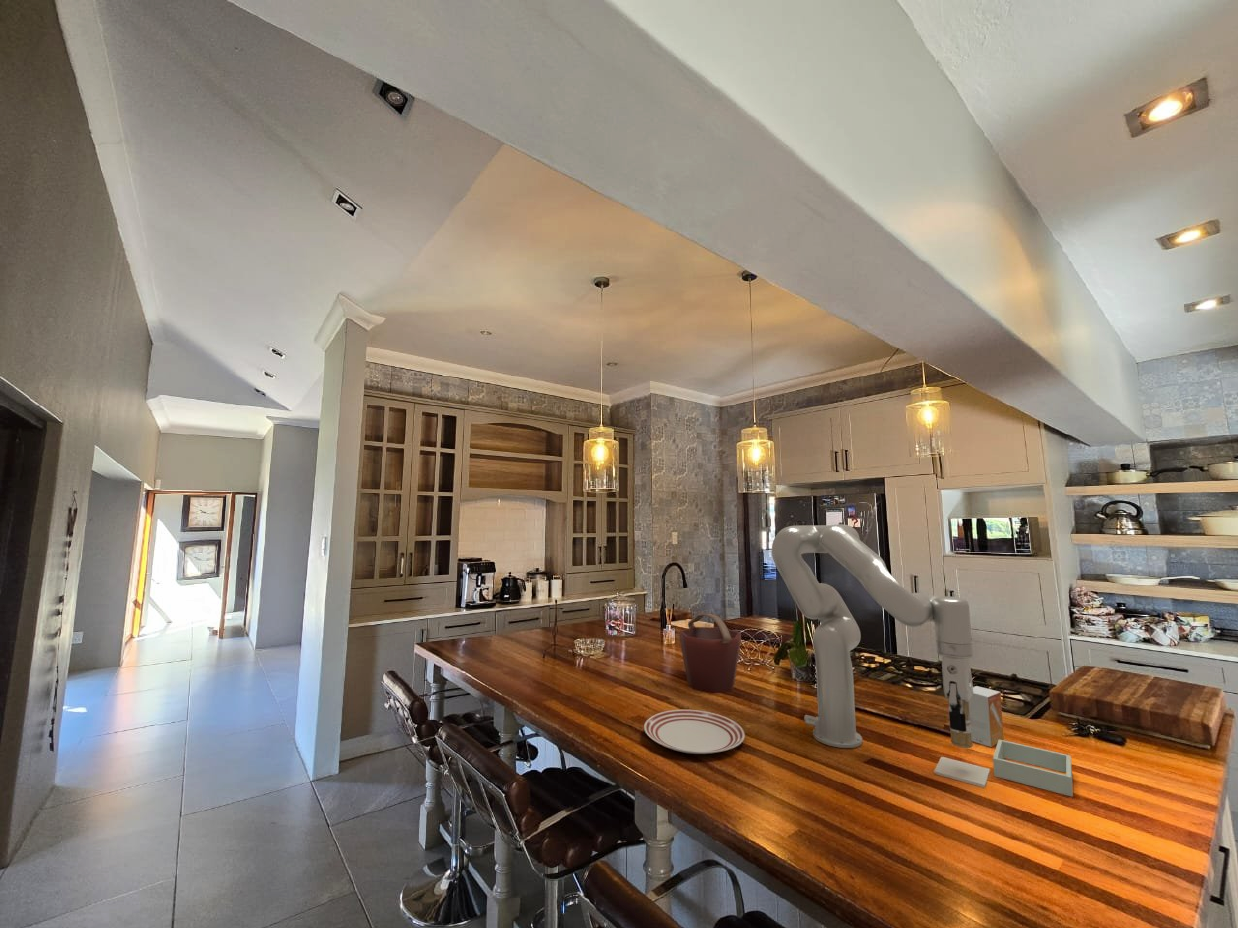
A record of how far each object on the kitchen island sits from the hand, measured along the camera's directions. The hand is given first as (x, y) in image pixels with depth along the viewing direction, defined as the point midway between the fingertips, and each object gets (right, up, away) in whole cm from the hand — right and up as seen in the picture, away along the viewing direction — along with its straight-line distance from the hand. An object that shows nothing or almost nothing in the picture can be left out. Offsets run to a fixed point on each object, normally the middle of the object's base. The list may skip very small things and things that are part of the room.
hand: (959, 725), depth 125 cm
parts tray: (+16, -11, -2) cm, 20 cm away
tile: (0, -11, -1) cm, 11 cm away
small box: (+18, -13, +17) cm, 28 cm away
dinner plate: (-62, -13, +18) cm, 66 cm away
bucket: (-48, -18, +64) cm, 82 cm away
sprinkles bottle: (0, -4, -1) cm, 5 cm away
